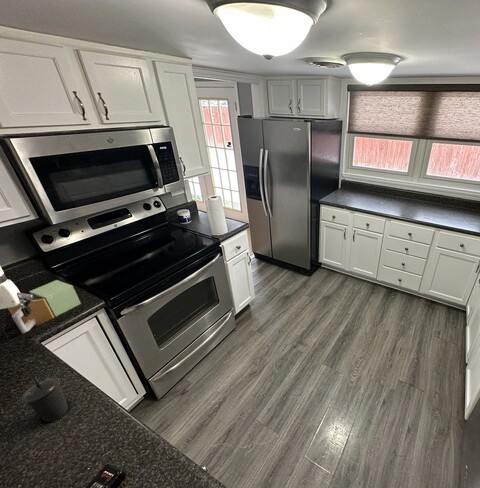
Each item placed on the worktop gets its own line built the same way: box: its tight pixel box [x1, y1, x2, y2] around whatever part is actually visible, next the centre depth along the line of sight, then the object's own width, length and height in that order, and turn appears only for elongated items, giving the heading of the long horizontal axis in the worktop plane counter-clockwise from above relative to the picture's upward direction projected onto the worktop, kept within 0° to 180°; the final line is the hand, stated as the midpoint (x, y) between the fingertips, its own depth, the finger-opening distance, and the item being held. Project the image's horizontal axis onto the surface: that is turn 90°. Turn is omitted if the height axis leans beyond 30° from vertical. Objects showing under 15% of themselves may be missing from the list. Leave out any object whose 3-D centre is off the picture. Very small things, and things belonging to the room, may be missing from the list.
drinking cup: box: [21, 371, 69, 423], centre depth 77 cm, size 8×8×20 cm
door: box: [7, 299, 55, 334], centre depth 111 cm, size 8×12×13 cm, turn 111°
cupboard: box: [29, 279, 82, 318], centre depth 122 cm, size 10×12×13 cm
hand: (11, 317), depth 104 cm, fingers open, 9 cm apart
